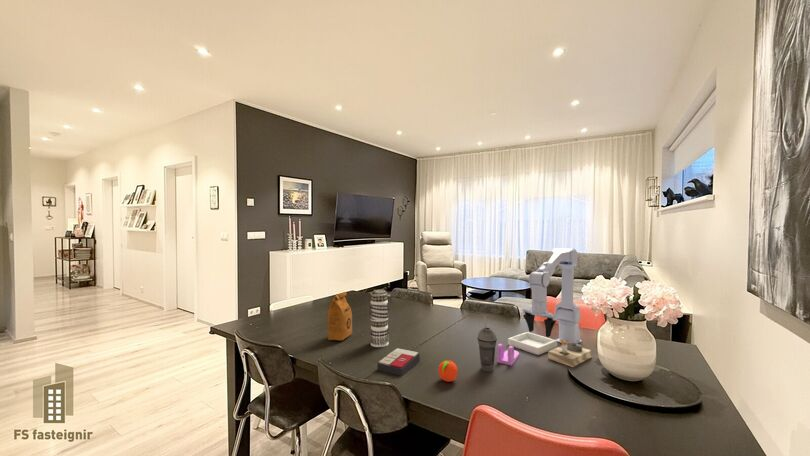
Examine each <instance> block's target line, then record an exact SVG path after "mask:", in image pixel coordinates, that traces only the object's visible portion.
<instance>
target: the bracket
mask: <svg viewBox="0 0 810 456" xmlns="http://www.w3.org/2000/svg"><path fill="white" fill-rule="evenodd" d="M504 348H505V347H504V344H503V343H498V344H497V350H496V352H497V353H496V354H497V363H500V364H503V365H506V366H507V365H508V366H513V364H514V363H515V362H516V361H517V360H518V359H519V357H520V352H519V351H518V350H515V347H513V346H510V345H508V347H507V350H505V349H504Z"/></svg>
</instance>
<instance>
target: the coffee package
mask: <svg viewBox="0 0 810 456" xmlns="http://www.w3.org/2000/svg"><path fill="white" fill-rule="evenodd" d="M347 295H348V293H347V292H346V291H343V292H342V293H338V294H336V295H335V296H333V299H332V301H331V302H330V303H329V306H328V311H327V340H328V341H339V342H340V341H344V340H345V339H346V338H348V337H350V336H351V335H352V333H353V314H352V313H353V312H352V309H351V307H350V305H349V303H348V302H347V299H346V298H347V297H345V296H347Z"/></svg>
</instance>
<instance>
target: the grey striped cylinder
mask: <svg viewBox="0 0 810 456" xmlns="http://www.w3.org/2000/svg"><path fill="white" fill-rule="evenodd" d="M368 307H369V315H370V317H369V318H370V319H369V320H370V322H371V324H370V328H369V329H370V333H369V334H370V346H371V347H374V348H383V347H387V346H388V345H389V341H390V335H389V331H390V330H389V329H390V328H389V324H388V320H389V314H390V313H389V310H390V309H389V307H390V305H389V302H388V292H387V291H386V290H384V289H374V290H373V291H371V293H370V302H369V306H368Z"/></svg>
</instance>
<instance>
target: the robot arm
mask: <svg viewBox="0 0 810 456" xmlns="http://www.w3.org/2000/svg"><path fill="white" fill-rule="evenodd" d="M550 251H551V252H550V257H549V259H548V260H547V261H546V262H543V263H542V264H541V265H540V266H539V267H538V268H537V270H535V271H532V272H531V273H530V274H529V275H528V283H529V286H530V290H531V308H528V307H523V308H522V314H523V318H524V320H525V322H526V325H527V328H528V332H530V333H533V332H534V330H535V328H534V327H535V326H534V325H535V318H536V316H537V317H540V318H544V319H543V323H544V326H545V337H547V338H550V337H551V334H552V332H553V331H552V330H553V329H554V326H555V324H556V323H558V338H556V339H555V340H557V343H561V340H567V341H568V343H572V342H575V343H577V344H579V343H581V342H583V341H582V339H581V338H580V337H581V336H580V326H579V323H580V321H581V311H580V306H579V305H578V304H576V303H575V302H574V280H575V279H574V277H575V273H574V272H575V267H577V266H578V262H579V260H578V259H579V258H578V257H579V254H578V251H577V250H576V249H575V248H559V247H553V248H552V249H551V250H550ZM557 266H560V267H561V295H560V296H561V297H560V298H561V301H559V302H558V303H556V304H555V309H554V313H553V312H552V313H551V312H549V311H548V304H547V303H548V302H547V301H548V297H547V294H548V291H547V287H549V284H550V281H551V277H552V276H553V275H554V273H555V272H556V267H557ZM561 344H562V343H561Z"/></svg>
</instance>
